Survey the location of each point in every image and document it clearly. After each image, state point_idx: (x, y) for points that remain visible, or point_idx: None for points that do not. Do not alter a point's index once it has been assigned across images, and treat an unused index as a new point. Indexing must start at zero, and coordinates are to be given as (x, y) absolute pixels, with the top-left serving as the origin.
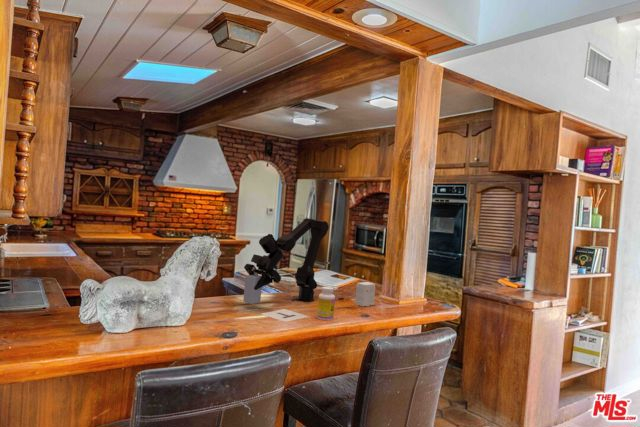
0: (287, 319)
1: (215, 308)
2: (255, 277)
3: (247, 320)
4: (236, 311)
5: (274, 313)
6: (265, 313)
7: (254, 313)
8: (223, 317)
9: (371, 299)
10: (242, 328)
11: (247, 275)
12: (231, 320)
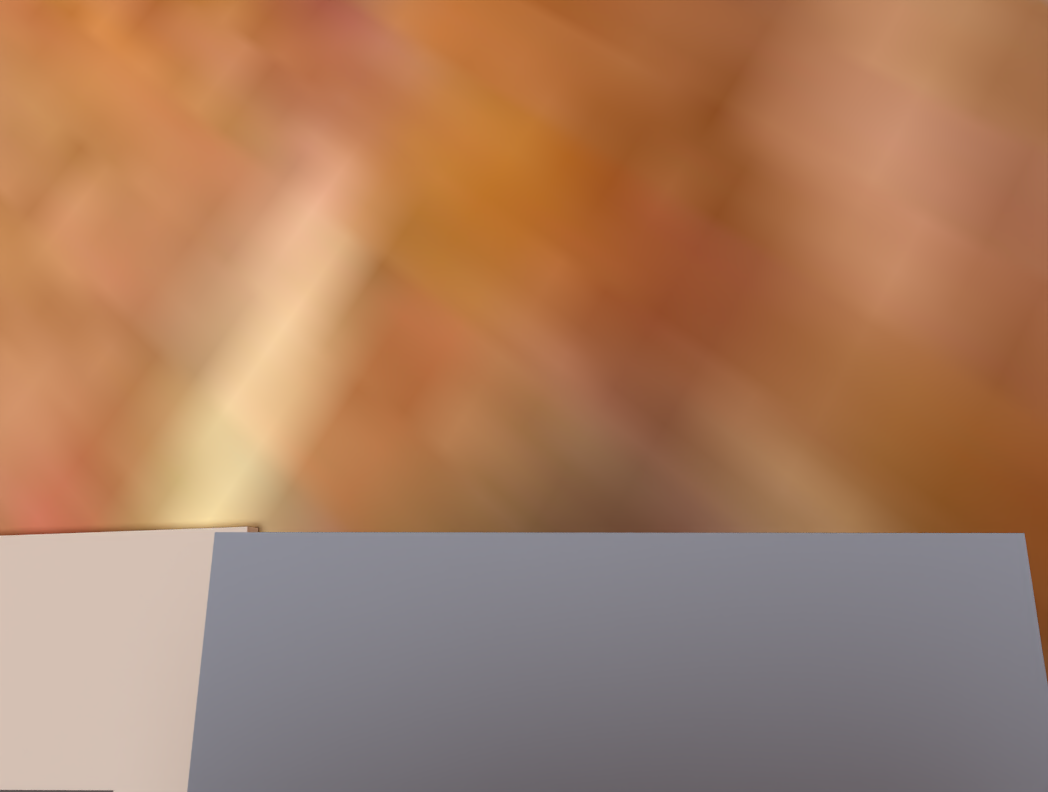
0: None
1: (917, 199)
2: (201, 724)
3: (189, 224)
4: (612, 365)
5: (118, 745)
6: (205, 611)
7: (378, 528)
8: (458, 58)
9: None
10: (24, 14)
11: (942, 655)
12: (304, 70)
